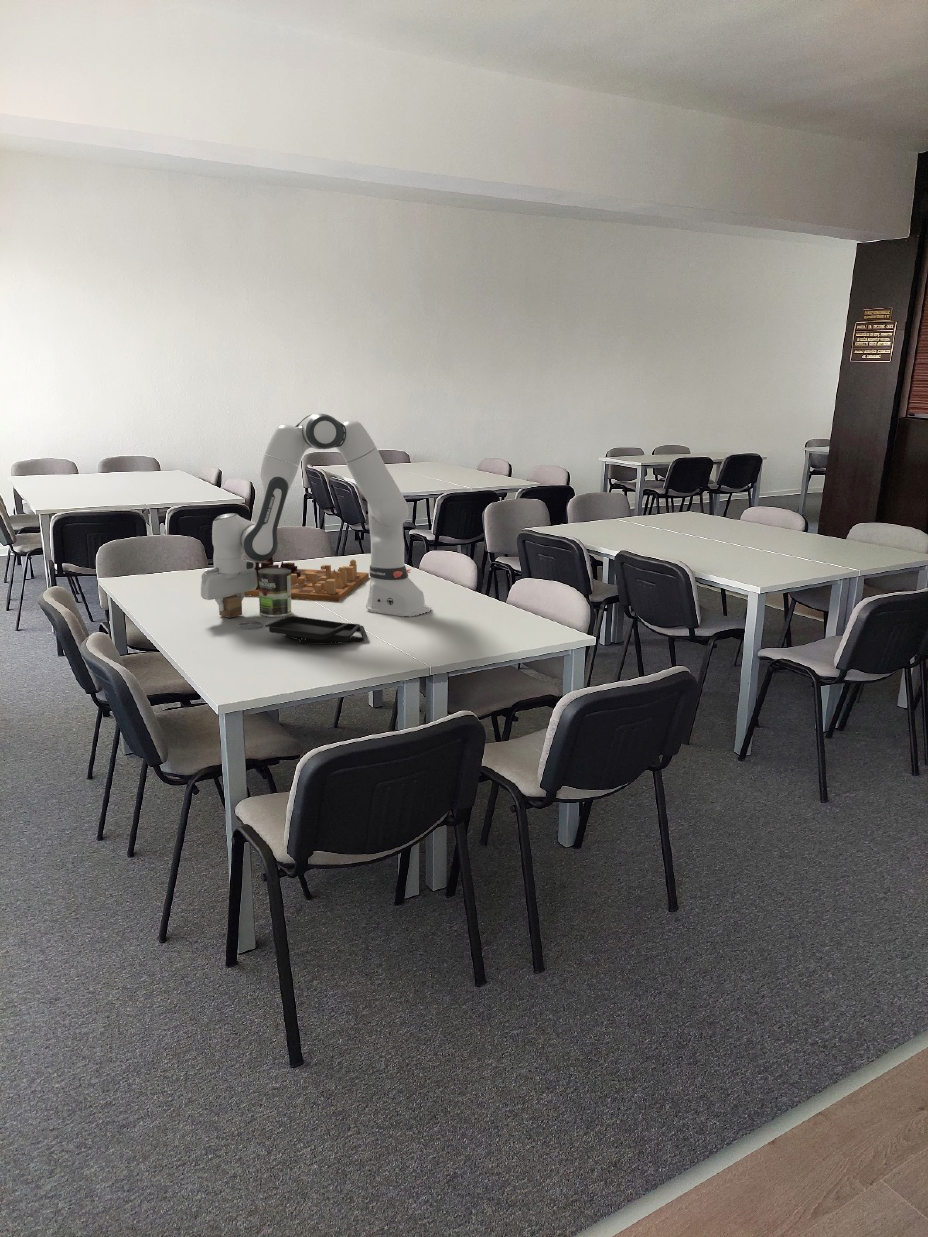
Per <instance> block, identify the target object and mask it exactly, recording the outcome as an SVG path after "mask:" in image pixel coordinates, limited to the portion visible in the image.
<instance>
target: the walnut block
mask: <svg viewBox="0 0 928 1237" xmlns="http://www.w3.org/2000/svg"><path fill="white" fill-rule="evenodd" d="M222 602H223V604H224V605H226V610H224V611H220V610H219V609H218V612H219V616H221V617H225V618H229V619H231V618H234V617H240V616H242V615H243V600H242V598H241V596H238V595H230V596H225V597H223V600H222Z"/></svg>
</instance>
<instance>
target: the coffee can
mask: <svg viewBox="0 0 928 1237" xmlns="http://www.w3.org/2000/svg"><path fill="white" fill-rule="evenodd" d="M290 573H291V570H289V569H286V568H280V567H279V568H264V569H260V570H258V574H259V597H258V598H259V600H258V602H259V613H258V614H259V615H260V616H263V617H266V616H267V618H268V617H269V618H281V617H282V616H283V617H287V616H291V615H292V599H291V577H290Z"/></svg>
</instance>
